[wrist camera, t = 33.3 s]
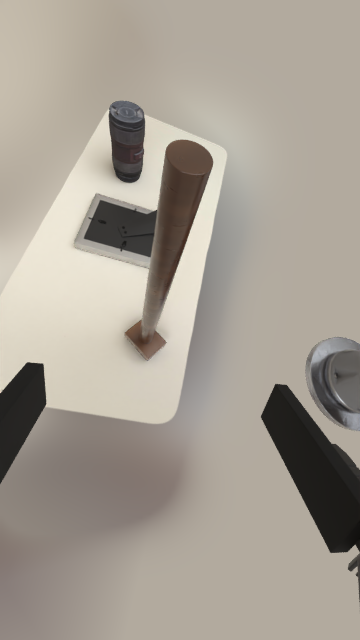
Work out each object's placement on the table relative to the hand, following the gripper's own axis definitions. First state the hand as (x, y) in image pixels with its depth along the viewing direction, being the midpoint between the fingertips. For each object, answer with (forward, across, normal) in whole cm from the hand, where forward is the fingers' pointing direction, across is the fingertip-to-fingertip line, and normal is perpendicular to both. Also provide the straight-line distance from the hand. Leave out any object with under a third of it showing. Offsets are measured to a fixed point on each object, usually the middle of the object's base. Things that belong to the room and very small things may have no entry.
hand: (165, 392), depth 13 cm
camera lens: (+67, -11, +18) cm, 70 cm away
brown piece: (+33, -1, -16) cm, 36 cm away
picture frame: (+52, -8, +3) cm, 53 cm away
